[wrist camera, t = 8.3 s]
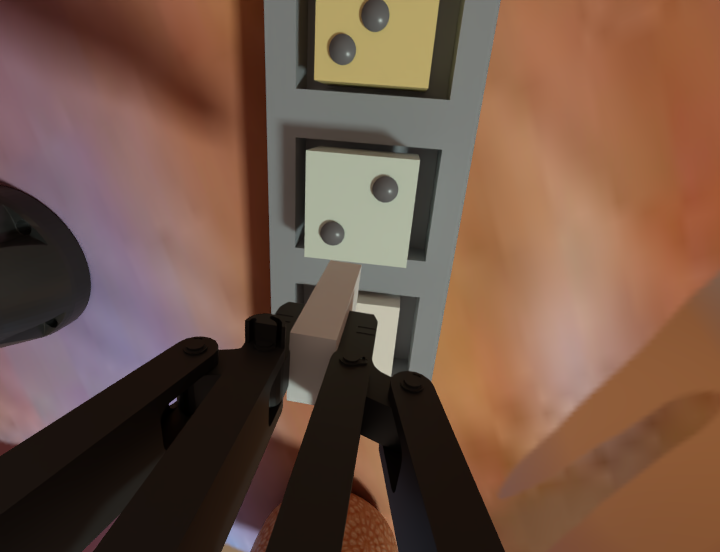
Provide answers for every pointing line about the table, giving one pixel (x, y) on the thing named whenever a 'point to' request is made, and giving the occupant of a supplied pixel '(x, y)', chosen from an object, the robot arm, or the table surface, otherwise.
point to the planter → (347, 529)
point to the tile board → (380, 133)
